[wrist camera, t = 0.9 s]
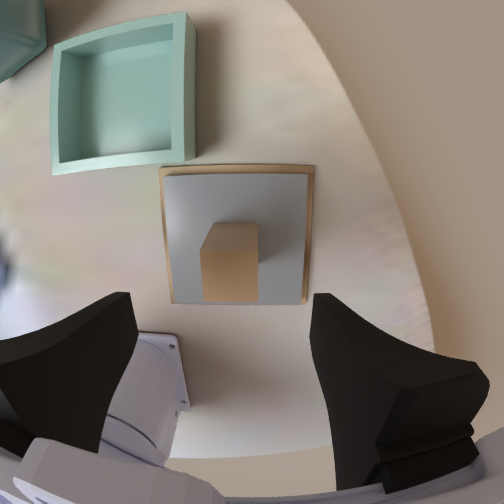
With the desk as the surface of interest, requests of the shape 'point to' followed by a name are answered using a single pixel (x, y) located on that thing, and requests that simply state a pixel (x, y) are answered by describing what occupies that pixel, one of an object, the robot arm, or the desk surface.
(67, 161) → the dish
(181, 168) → the mat
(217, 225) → the lid
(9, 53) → the flower pot
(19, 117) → the desk surface
